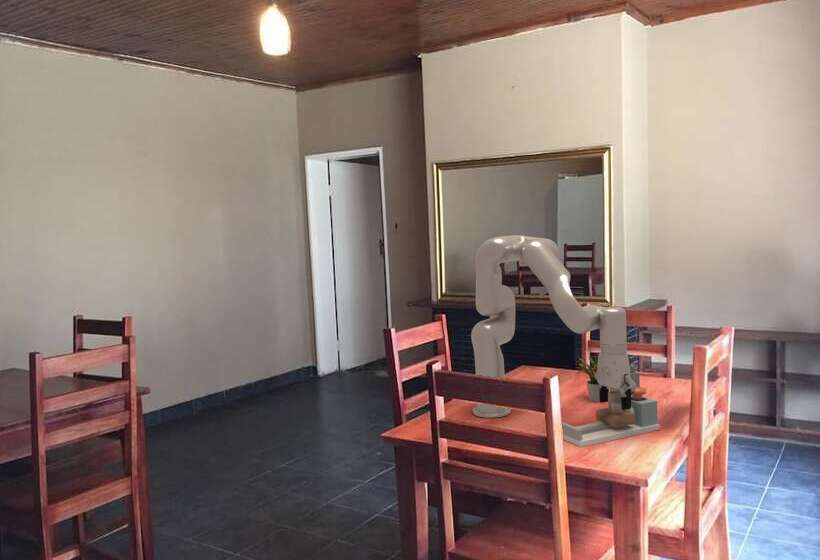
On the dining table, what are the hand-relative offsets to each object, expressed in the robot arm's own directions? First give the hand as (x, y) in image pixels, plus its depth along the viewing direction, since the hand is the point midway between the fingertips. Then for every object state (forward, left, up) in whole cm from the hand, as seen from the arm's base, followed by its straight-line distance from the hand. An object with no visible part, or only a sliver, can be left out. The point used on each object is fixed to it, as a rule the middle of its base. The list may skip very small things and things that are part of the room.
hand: (615, 405), depth 203 cm
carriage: (0, 0, -5) cm, 5 cm away
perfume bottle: (-13, +15, -8) cm, 21 cm away
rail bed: (0, -3, -8) cm, 8 cm away
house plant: (-30, +19, -8) cm, 36 cm away
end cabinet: (0, +8, -6) cm, 10 cm away
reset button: (0, +8, +1) cm, 9 cm away
